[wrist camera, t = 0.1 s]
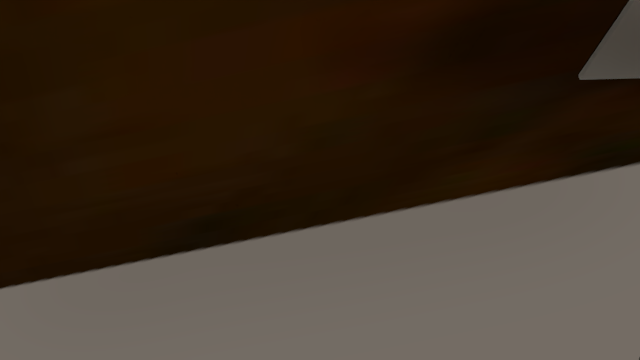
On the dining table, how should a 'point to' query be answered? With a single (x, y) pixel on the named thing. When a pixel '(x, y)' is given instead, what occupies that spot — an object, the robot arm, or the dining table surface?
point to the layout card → (617, 48)
